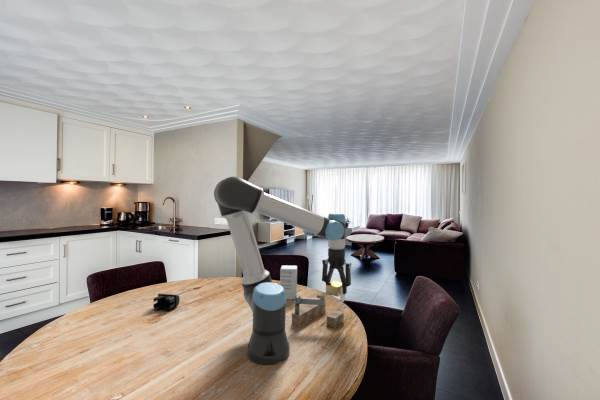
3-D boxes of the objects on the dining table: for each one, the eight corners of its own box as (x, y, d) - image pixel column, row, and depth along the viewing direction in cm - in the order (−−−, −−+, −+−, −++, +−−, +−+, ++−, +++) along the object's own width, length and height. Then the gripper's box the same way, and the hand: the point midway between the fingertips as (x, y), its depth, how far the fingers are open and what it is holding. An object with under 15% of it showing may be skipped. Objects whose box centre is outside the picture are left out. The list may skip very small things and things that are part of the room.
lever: (293, 304, 121) (293, 295, 121) (294, 301, 124) (294, 293, 124) (324, 306, 119) (324, 297, 119) (324, 303, 122) (324, 295, 122)
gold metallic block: (337, 296, 120) (337, 287, 120) (325, 293, 123) (325, 284, 123) (346, 291, 126) (346, 283, 126) (334, 289, 130) (334, 280, 130)
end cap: (179, 306, 141) (180, 293, 141) (171, 312, 134) (171, 298, 134) (161, 305, 142) (161, 292, 142) (152, 310, 135) (152, 296, 135)
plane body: (299, 327, 120) (299, 305, 120) (291, 324, 123) (292, 303, 123) (325, 311, 138) (325, 292, 138) (318, 309, 140) (318, 290, 140)
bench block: (335, 327, 120) (335, 318, 120) (326, 325, 123) (326, 316, 123) (343, 321, 127) (343, 312, 127) (335, 319, 129) (335, 310, 129)
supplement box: (296, 299, 153) (296, 269, 153) (279, 299, 153) (280, 268, 153) (296, 294, 163) (297, 265, 163) (281, 293, 163) (281, 264, 163)
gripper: (359, 249, 122) (359, 301, 122) (322, 244, 133) (322, 292, 133) (352, 251, 116) (351, 306, 116) (314, 246, 127) (313, 297, 127)
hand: (335, 299), depth 125 cm, fingers closed on gold metallic block, 6 cm apart
